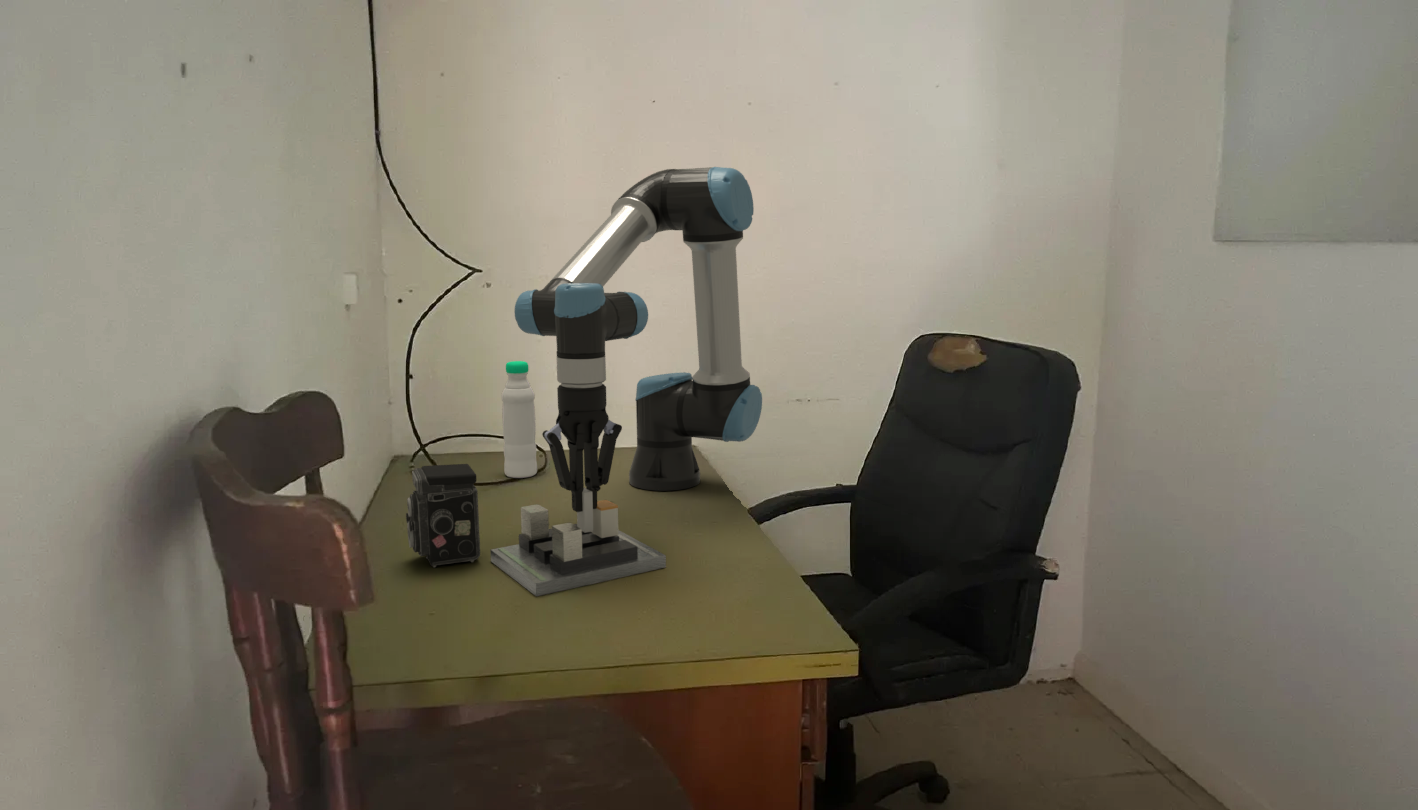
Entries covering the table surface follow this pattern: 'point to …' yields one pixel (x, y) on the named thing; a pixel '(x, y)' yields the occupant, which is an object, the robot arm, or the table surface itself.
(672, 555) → the table surface
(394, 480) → the table surface
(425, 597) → the table surface
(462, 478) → the camera
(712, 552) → the table surface
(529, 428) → the water bottle
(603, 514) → the block
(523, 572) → the panel
